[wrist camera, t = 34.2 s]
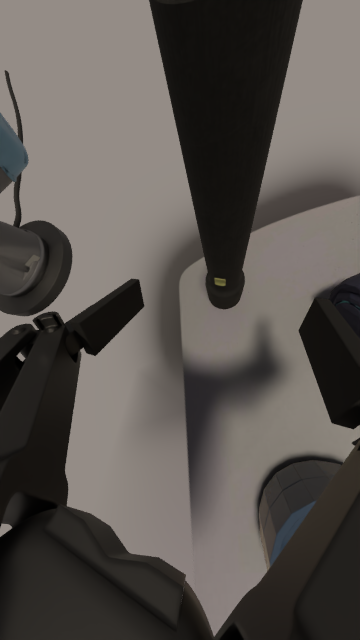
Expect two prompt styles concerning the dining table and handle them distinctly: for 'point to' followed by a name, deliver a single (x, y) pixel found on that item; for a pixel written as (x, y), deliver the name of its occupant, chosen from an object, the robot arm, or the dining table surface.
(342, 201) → the dining table surface
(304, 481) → the bowl
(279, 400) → the dining table surface
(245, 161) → the flashlight
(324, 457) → the dining table surface
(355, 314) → the portable speaker
